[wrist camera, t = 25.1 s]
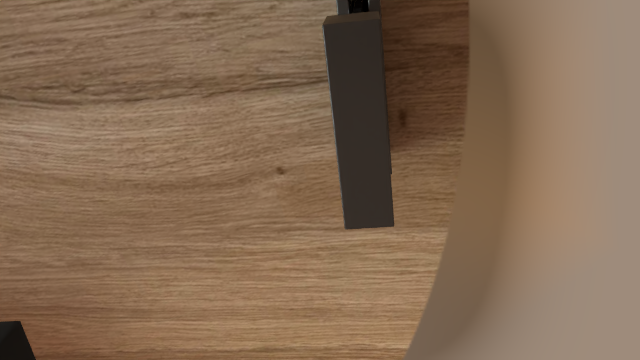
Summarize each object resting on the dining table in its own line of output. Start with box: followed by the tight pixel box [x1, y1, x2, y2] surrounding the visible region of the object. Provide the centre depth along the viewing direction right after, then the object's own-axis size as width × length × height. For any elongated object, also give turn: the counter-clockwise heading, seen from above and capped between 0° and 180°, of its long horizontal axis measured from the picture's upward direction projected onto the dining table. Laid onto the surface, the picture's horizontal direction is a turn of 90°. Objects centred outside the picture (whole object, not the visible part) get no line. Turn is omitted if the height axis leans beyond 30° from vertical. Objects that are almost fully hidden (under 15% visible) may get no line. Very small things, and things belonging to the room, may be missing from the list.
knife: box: [322, 0, 394, 229], centre depth 28 cm, size 9×2×11 cm, turn 7°
